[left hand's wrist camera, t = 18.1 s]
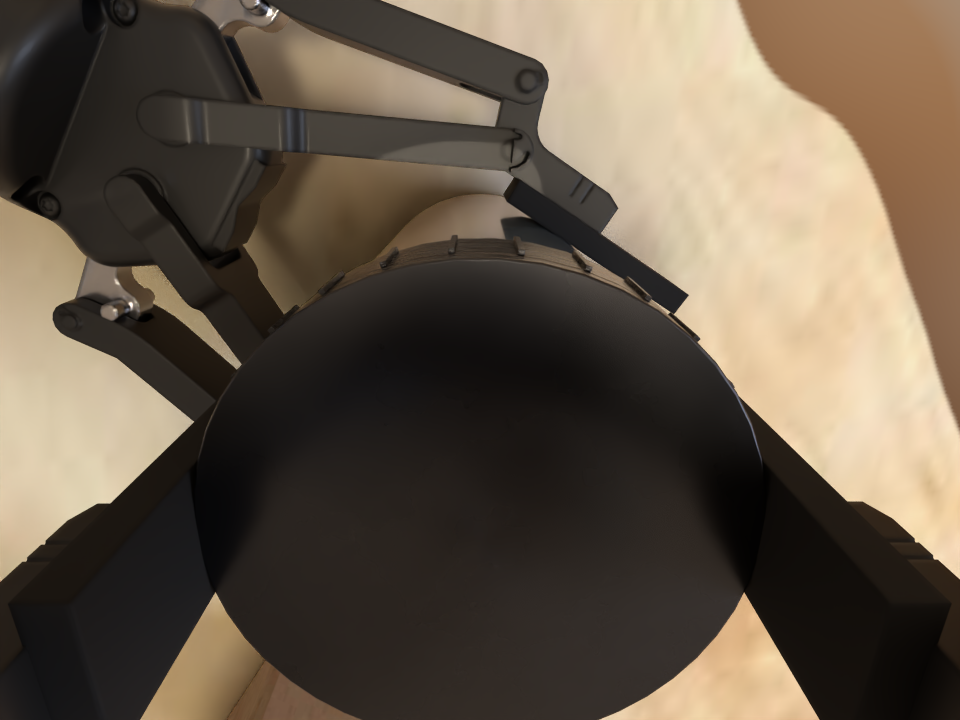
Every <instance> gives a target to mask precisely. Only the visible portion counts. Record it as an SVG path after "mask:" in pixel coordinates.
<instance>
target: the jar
mask: <svg viewBox="0 0 960 720" xmlns="http://www.w3.org/2000/svg"><path fill="white" fill-rule="evenodd" d="M452 235H458V239H468V238H498V239H506V240H513V238H514V236H518V237H520V239H521V241H522V242H530V243H535V244H539V245H542V246H546V247H550V248H554V249H558V250H561V251H565V252H568V253H571V254H572V253H573V250H575V251H578V250H577V249H576V248H575V247H573V246H572V245H570V244H569V243H567V242H566V241H564V240H563V239H561V238H560V237H558V236H557V235H555V234H554V233H552V232H551V231H549V230H548V229H546V228H545V227H543V226H542V225H540V224H539V223H537V222H536V221H534V220H533V219H531V218H530V217H528V216H527V215H526V214H524V213H523V212H521V211H520V210H518V209H517V208H515V207H514V206H512V205H511V204H509V203H508V202H506V200H505V197H503V196H499V195H491V194H468V195H462V196H456V197H453V198H450V199H446V200H443V201H441V202H439V203H437V204H434V205H432V206H430V207H428V208H427V209H425V210H424V211H422V212H421V213H419V214H418V215H417V216H415V217H414V218H413V219H412V220H411V221H410V222H409V223H407V224H406V225H405V227H404V228H403V229H402V230H401V231H400V232H399V233H398V234H397V235H396V236H395V237H394V238H393V239H392V241H391V242H390V243H389V244H388V245H387V246H386V247H385V248H384V249H383V250H382V251H381V252H380V254H379V255H378V256H377V257H376V258H375V259H377V258H379V257H381V256H384V255H386V254H387V253H388V252H389V251H390V250H391V248H393V247H396V246H397V247H398V250H402V249H406V248H409V247H413V246H417V245H420V244H424V243H431V242H438V241H446V240H451V236H452ZM578 252H579V251H578ZM579 253H580V252H579ZM580 254H581V253H580Z"/></svg>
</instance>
